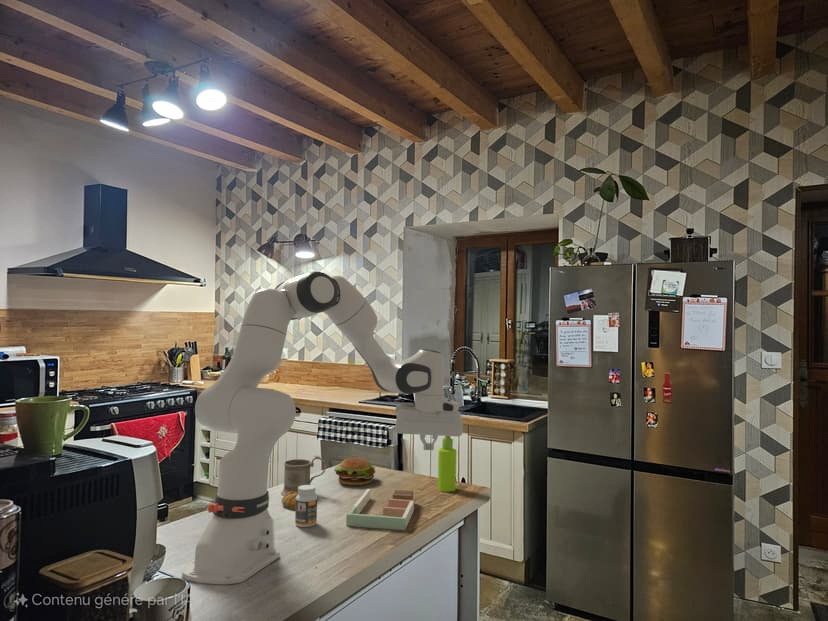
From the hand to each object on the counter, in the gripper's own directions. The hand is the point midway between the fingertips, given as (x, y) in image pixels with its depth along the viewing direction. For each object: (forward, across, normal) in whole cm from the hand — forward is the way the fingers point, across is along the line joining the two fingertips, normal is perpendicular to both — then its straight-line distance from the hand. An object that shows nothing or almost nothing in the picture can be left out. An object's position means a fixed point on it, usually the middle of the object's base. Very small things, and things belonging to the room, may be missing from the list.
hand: (428, 449), depth 168 cm
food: (+17, -28, +22) cm, 40 cm away
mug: (+17, -40, +5) cm, 44 cm away
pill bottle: (+17, -30, -21) cm, 41 cm away
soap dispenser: (+17, +4, +19) cm, 26 cm away
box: (+17, -12, -8) cm, 22 cm away
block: (+17, -8, 0) cm, 19 cm away
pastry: (+18, -38, -7) cm, 43 cm away
